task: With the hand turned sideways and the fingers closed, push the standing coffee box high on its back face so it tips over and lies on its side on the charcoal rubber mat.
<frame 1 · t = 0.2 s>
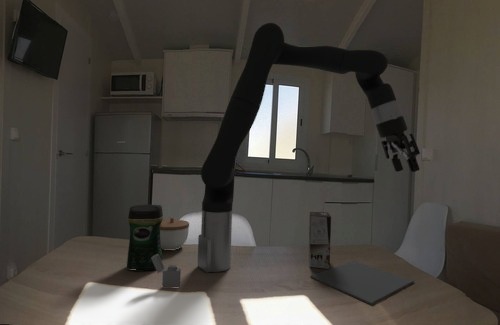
hand: (407, 171, 77), 31 cm above the table, tool tilted 20°, fingers open, 8 cm apart
coffee box: (318, 263, 86), on the table
lidded bowl: (171, 248, 97), on the table
lighter: (165, 287, 66), on the table
coffee jar: (144, 267, 78), on the table
rubber mat: (361, 279, 74), on the table
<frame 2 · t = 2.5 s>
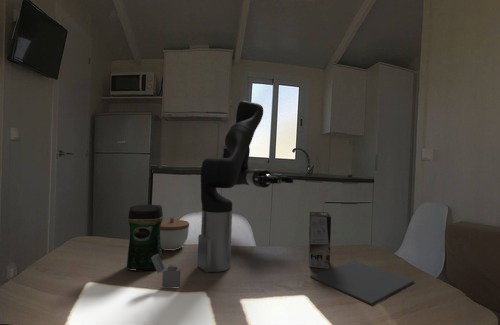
hand: (285, 180, 100), 26 cm above the table, tool horizontal, fingers open, 7 cm apart
nothing on the table moved.
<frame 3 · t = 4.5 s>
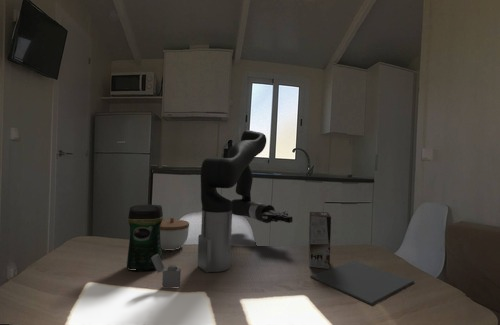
hand: (291, 219, 97), 12 cm above the table, tool horizontal, fingers closed
nothing on the table moved.
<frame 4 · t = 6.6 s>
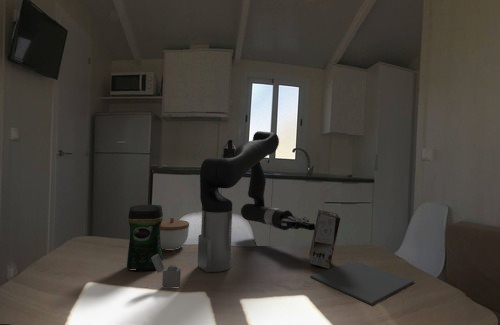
hand: (313, 227, 88), 11 cm above the table, tool horizontal, fingers closed
coffee box: (318, 262, 86), on the table, touching gripper
everything else where it was.
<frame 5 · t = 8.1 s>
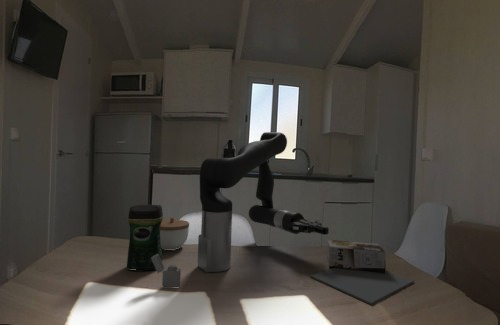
hand: (327, 231, 84), 11 cm above the table, tool horizontal, fingers closed
coffee box: (327, 252, 85), point 4 cm above the table, touching rubber mat
everything else where it was.
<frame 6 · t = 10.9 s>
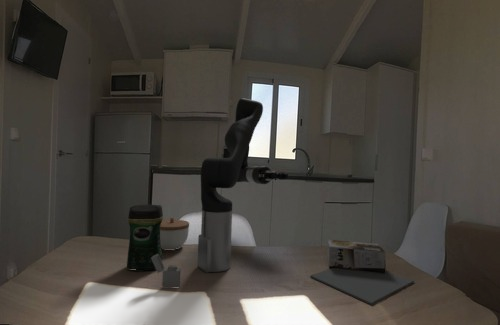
hand: (286, 176, 99), 28 cm above the table, tool horizontal, fingers closed
nothing on the table moved.
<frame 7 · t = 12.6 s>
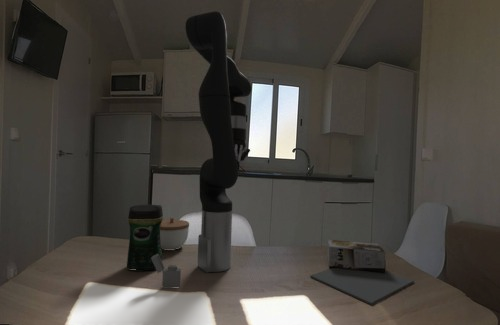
hand: (235, 171, 106), 29 cm above the table, tool pointing down, fingers closed
nothing on the table moved.
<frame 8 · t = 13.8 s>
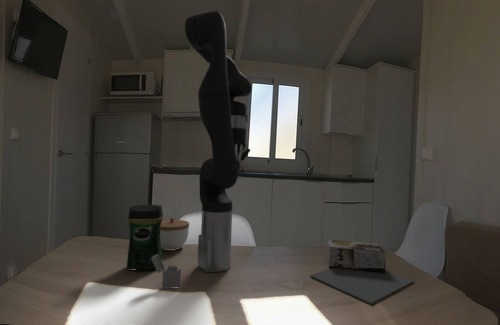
hand: (235, 170, 106), 29 cm above the table, tool pointing down, fingers closed
nothing on the table moved.
at the end: coffee box tilted 90°; coffee box inside the target area (6.4 cm from its centre), point 3.7 cm above the table; coffee box touching rubber mat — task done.
